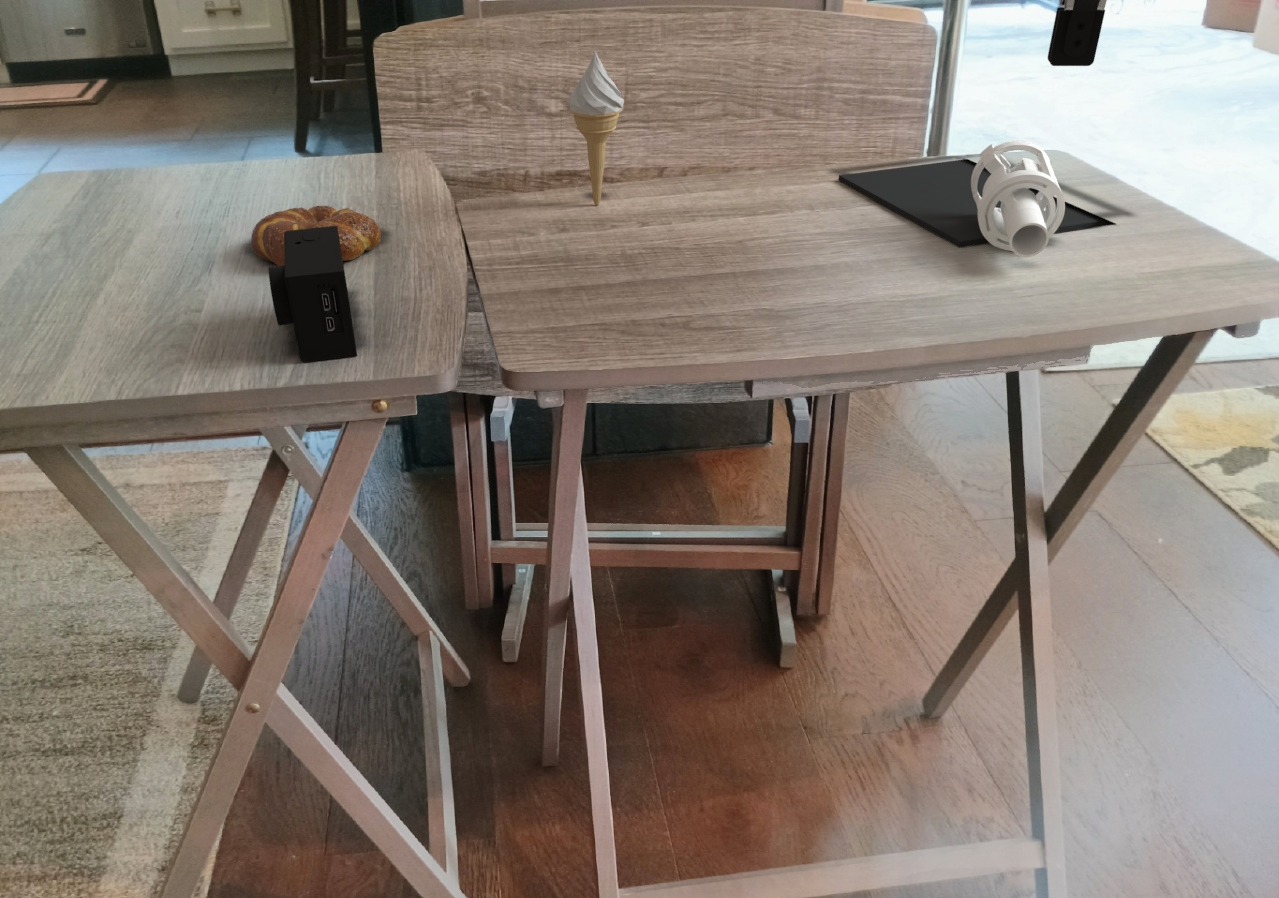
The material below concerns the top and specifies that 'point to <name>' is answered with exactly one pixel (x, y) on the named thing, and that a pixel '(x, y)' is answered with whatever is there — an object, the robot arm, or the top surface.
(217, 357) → the top surface
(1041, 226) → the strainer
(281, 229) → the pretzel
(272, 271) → the digital camera
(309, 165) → the top surface
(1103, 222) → the mat
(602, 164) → the ice cream cone
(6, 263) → the top surface
